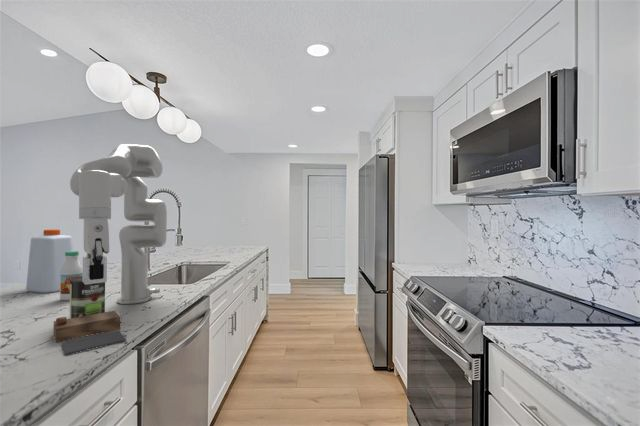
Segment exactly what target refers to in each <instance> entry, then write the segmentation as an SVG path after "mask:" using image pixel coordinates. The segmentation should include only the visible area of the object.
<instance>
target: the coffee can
mask: <svg viewBox="0 0 640 426" xmlns="http://www.w3.org/2000/svg"><path fill="white" fill-rule="evenodd" d="M69 282H70V300H69V319H70V318H76V317H82V316H87V315H93V314H99V313H104V312H106V311H105V310H106V282H103V283H94V284H86V285H85V284H84V283H83V282H82V277H76V278H72V279H70V280H69Z"/></svg>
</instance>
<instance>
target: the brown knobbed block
mask: <svg viewBox="0 0 640 426" xmlns="http://www.w3.org/2000/svg"><path fill="white" fill-rule="evenodd" d="M119 330H121V316H120V314H118V313H117V311H116V310H112V311H110V310H109V311H105V312H104V313H99V314H93V315H87V316H82V317H76V318H70V317H69V318H67V317H66V316H60V317H57V318H56V319H55V320H54V321H53V337H55V338H54V340H55V343H60V342H59V341H61V342H64V341H63V340H66V341H69V340H68V339H71V340H73V339H72V338H75V339H78V338H77V337H80V338H83V337H82V336H85V337H87V336H86V335H90V336H92V335H91V334H94V335H97V334H96V333H99V334H103V333H102V332H104V333H109V332H114V331H119ZM108 331H109V332H108Z"/></svg>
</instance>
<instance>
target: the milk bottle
mask: <svg viewBox="0 0 640 426" xmlns="http://www.w3.org/2000/svg"><path fill="white" fill-rule="evenodd" d="M79 254H80V252H79V251H78V250H73V251H67V252H65V257H66V260H65V263H64V265H63V267H62V269H61V274H60V291H59V298H60V300H61V301H70V282H69V280H70V279H72V278H76V277H82V276H83V265H81V263H80V260H79Z"/></svg>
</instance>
